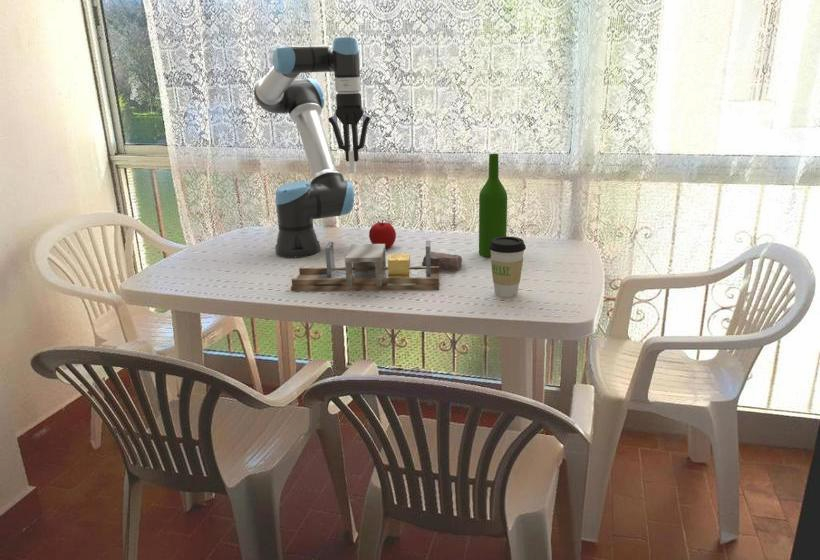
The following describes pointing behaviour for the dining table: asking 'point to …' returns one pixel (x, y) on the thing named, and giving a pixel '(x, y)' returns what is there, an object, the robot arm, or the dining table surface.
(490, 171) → the wine bottle
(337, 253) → the dining table surface
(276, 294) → the dining table surface
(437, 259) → the stone
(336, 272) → the grey u-shaped piece
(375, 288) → the tunnel board
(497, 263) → the coffee cup
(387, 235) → the apple
